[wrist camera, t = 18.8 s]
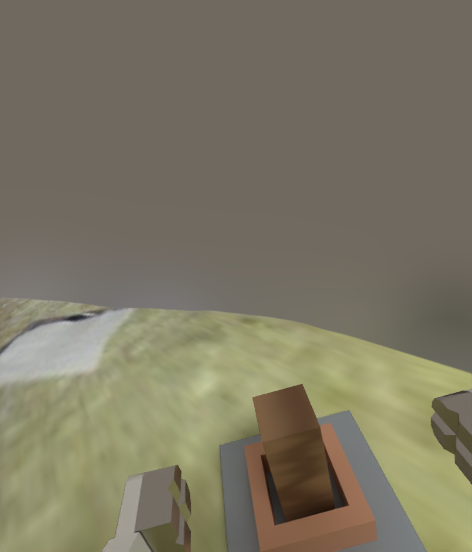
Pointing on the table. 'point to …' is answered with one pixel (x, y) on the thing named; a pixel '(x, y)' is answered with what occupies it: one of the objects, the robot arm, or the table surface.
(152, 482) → the robot arm
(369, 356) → the table surface
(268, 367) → the table surface
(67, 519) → the table surface
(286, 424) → the wooden post
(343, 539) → the housing
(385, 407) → the table surface
